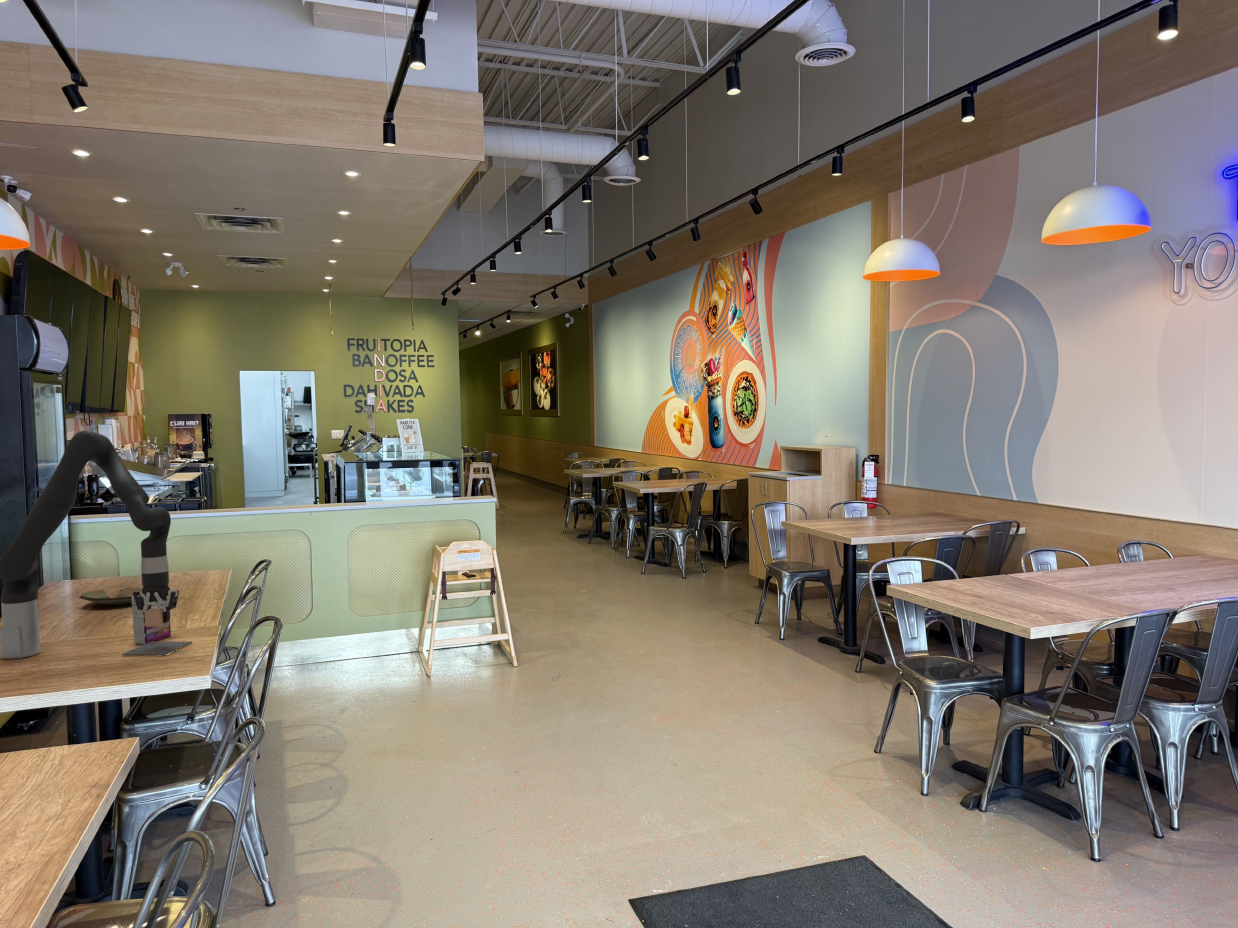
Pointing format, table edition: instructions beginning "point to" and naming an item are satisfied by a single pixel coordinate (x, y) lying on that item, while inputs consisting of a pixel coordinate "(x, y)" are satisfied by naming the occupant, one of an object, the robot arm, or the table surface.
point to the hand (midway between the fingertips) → (157, 622)
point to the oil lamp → (104, 599)
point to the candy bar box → (147, 633)
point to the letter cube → (154, 617)
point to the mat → (156, 648)
